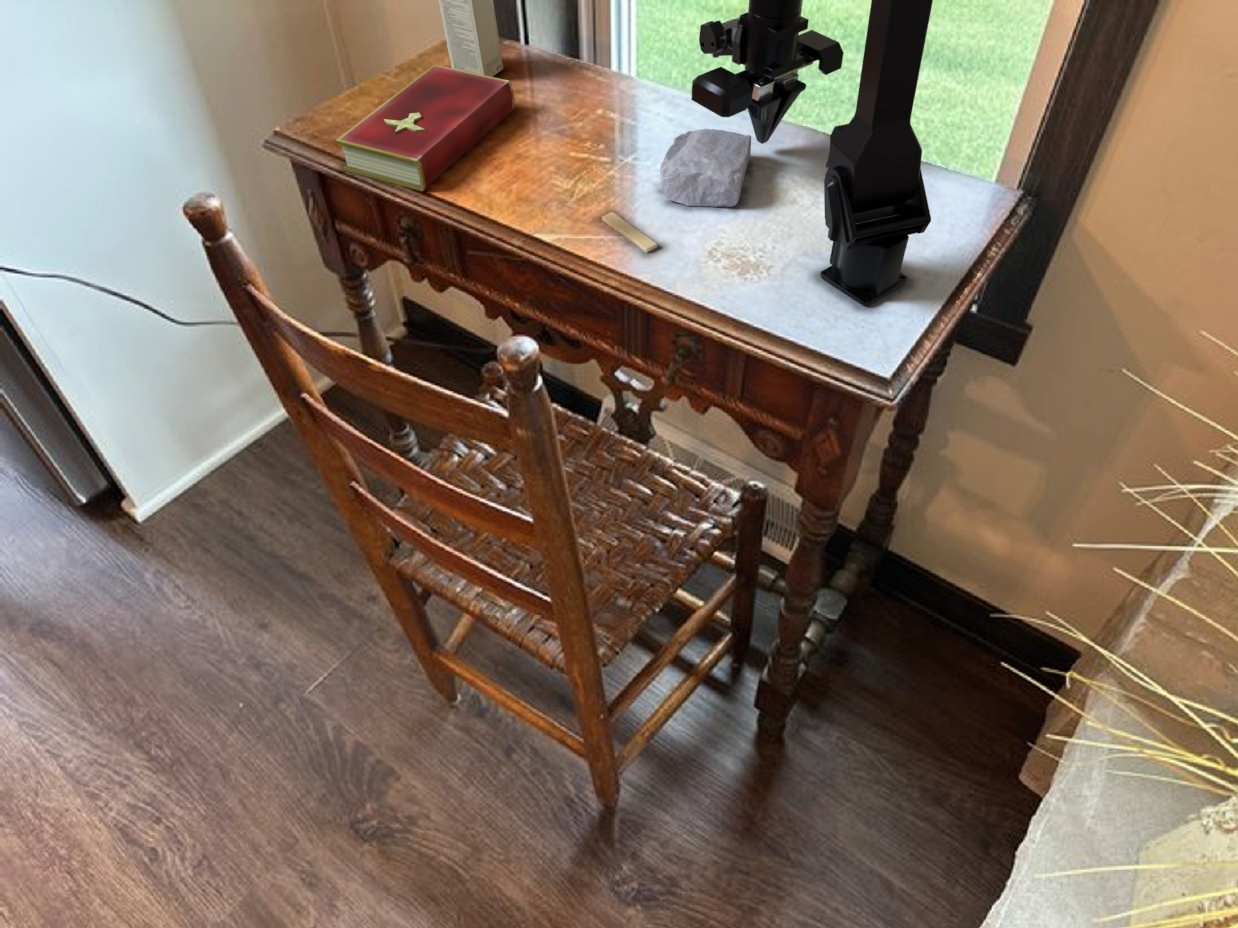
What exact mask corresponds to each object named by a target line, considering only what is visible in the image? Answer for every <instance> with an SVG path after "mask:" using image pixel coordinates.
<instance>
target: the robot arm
mask: <svg viewBox="0 0 1238 928" xmlns="http://www.w3.org/2000/svg"><path fill="white" fill-rule="evenodd" d="M803 1H804V0H748V9H747V12H744V13H742V14H740V15H739V17H736V18H732V19H729V20H726V21H724V22H722V21H721V20H716V21H713V20H710V21H708V22H705V23H702V24H700V27H699V35H698V36H699V37H698V41H699V47H700V51H701V53H703V54H704V55H712V58H714V59H717V58H719V57H725V56H726V57H731V62H732V63H734V64H735V65H738V66H740V65H743V66H744V70H741V71H739V72H736V73H734V72H732V71H730V70H729V69H727V68H724V67H722V66H718V67H716V68H714V69H711V70H709V71H707V72H704V73H701V74H699V75H697V76H696V77H695V78H694V79H693V80H692V83H691V101H692V102H694V103H696V104H698V105H699V106H701V107H703V108H705V109H707V110H708V111H709V112H712V113H714V114H715V115H717V116H719V117H721V118H731V117H733V116H736V115H737V114H740V113H742V112H745V111H746V110H747V111H748V114H749V119H750V121H751V125H752V129H753V131H754V136H755V139H756V142H759V143H760V144H762V145H763V144H765V143H768V142H769V140H770V139H771V137H772V135H773V134H774V132H775V130H776V129H777V128H778V126H779V124H780V123H781V122H782V120H783V118H784V117H785V116H786V114H787V112H788V111H789V109H790V108H791V107H792V106H793V104H794V103H795V101H796V100H797V99H798V97H799V95H800V94H801V93H802V92H804V91H805V90H806V88H807V83H805V82H803V81H801V80H799V74H798V72H799V71H800V70H802V69H804V68H807V67H809V66H811V65H813V64H814V62H816V61H818V68H817V69H818V71H819V72H820V73H821V74H822V75H825V76H827V75H829V74H831V73H834V72H836V71H839V70H841V69H842V65H843V59H844V50H843V48H842V46H841V43H840V42H839V41H837V40H835V39H833V38H831V37H829V36H826V35H824V34H822V33H820V32H817V31H816V30H813V29H810V30H808V29H809V22H810V21H809V19H808V18H807V17H804V16H802V10H803ZM933 1H934V0H871V1H870V9H869V16H868V23H867V28H866V29H867V30H866V36H865V37H866V38H865V43H864V44H865V45H864V52H863V57H862V64H861V65H862V66H861V72H860V79H859V86H858V92H857V101H856V106H855V112H854V116H853V117H852V119H850V121H849V122H848V123H845V124H840V125H835V126H834V127H833V128H832V131H831V134H830V136H829V153H828V158H827V161H826V164H825V167H826V168H827V171H826V172H825V176H824V180H823V193H824V194H823V195H824V196H823V199H824V224H825V226H826V227H827V229H828V233H827V238H828V239H829V240H830V241H832V245H831V250H830V257H829V264H830V266H828V267H827V268H825V269H822V271H820V273H819V274H820V275H819V276H820V277H819V278H821V279H822V280H823V281H824V282H826V283H828V284H830V285H831V286H832V287H835V289H837V290H838V291H840V292H842V293H843V294H845V295H846V296H847V297H850V298H851V299H852V300H854V301H856V302H857V303H859V304H860V305H861V306H870V305H871V304H873V303H875V302H876V301H878V300H879V299H881V298H883V297H885V296H886V295H888V294H890V293H891V292H893V291H894V290H896V289H898V288H900V287H901V286H903V285H905V284H906V283H907V282H908V276H907V275H906V274H904V273H903V272H901V271H902V267H903V262H904V258H905V253H906V250H907V246H908V242H909V238H910V235H914V234H924V233H925V231H926V230H927V228H928V227H929V225H930V223H931V222H932V216H931V212H930V207H929V202H928V197H927V192H926V188H925V183H924V179H923V172H922V169H921V166H922V155H923V149H922V145H921V144H920V141H919V139H918V137H917V135H916V133H915V130H914V129H913V126H912V124H911V122H912V121H911V120H912V112H913V107H914V103H915V97H916V92H917V88H918V87H917V86H918V82H919V76H920V70H921V64H922V61H923V55H924V49H925V44H926V39H927V34H928V29H929V23H930V18H931V11H932V7H933ZM806 30H808V31H806ZM804 31H805V32H804ZM802 32H803V33H802Z"/></svg>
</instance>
